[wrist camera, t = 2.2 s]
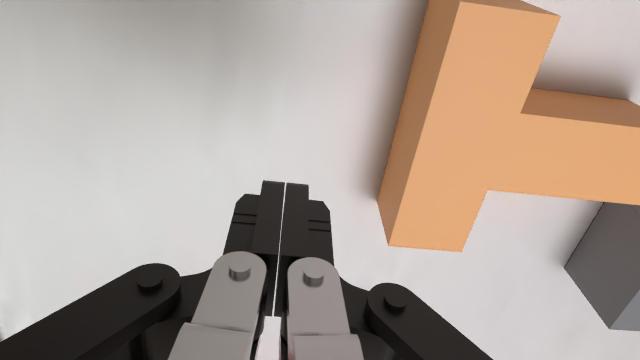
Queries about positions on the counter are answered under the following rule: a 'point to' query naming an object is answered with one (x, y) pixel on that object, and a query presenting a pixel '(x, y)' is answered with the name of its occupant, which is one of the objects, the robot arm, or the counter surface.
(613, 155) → the t block
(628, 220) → the dock
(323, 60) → the counter surface
